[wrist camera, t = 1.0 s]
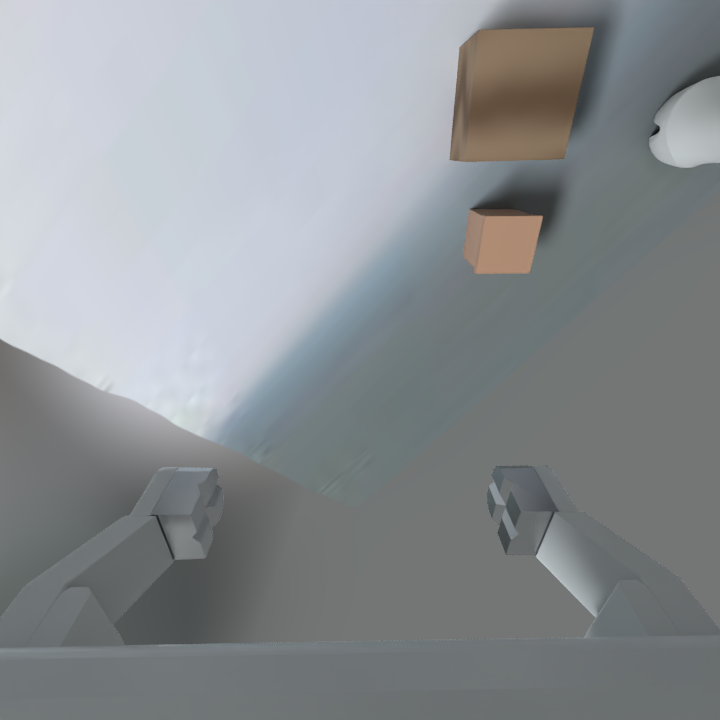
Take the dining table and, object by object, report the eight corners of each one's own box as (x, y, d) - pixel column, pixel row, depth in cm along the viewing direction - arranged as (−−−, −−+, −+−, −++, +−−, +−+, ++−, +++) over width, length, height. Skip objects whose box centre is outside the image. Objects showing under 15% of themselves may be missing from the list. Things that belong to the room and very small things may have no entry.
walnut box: (459, 48, 33) (479, 29, 28) (556, 45, 33) (594, 27, 28) (449, 159, 38) (464, 161, 33) (534, 157, 38) (564, 159, 33)
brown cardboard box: (467, 207, 40) (485, 216, 35) (517, 207, 40) (543, 215, 35) (460, 258, 43) (476, 273, 38) (507, 257, 43) (529, 273, 38)
